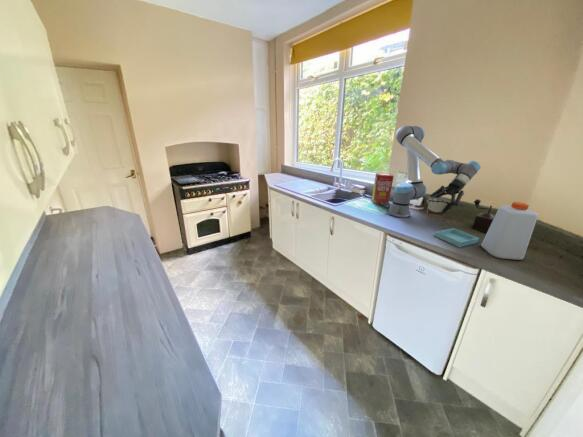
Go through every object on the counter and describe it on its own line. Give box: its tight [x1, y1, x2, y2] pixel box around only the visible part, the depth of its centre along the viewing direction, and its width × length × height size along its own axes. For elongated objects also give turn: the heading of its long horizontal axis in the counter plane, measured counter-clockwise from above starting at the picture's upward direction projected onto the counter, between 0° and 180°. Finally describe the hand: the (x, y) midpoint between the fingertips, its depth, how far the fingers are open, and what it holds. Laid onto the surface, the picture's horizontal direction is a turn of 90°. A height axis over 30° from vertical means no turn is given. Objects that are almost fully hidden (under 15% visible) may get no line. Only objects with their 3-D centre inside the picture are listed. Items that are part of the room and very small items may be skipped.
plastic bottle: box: [481, 201, 539, 261], centre depth 121 cm, size 15×15×28 cm
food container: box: [426, 197, 451, 217], centre depth 147 cm, size 12×6×10 cm, turn 71°
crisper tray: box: [434, 227, 480, 248], centre depth 140 cm, size 15×16×3 cm
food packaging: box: [371, 172, 394, 205], centre depth 203 cm, size 13×9×25 cm
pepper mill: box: [471, 198, 495, 233], centre depth 156 cm, size 16×11×18 cm
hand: (434, 209), depth 146 cm, fingers closed on food container, 10 cm apart
